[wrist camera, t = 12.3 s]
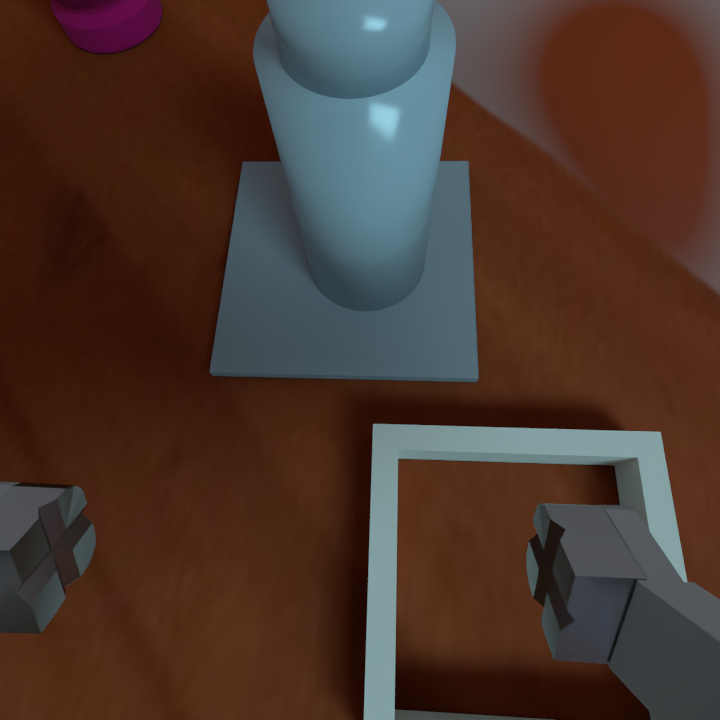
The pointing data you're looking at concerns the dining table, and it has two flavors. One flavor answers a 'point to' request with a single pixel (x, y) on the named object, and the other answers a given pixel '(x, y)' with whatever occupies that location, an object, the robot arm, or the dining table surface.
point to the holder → (497, 444)
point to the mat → (330, 321)
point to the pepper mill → (107, 22)
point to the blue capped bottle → (359, 135)
